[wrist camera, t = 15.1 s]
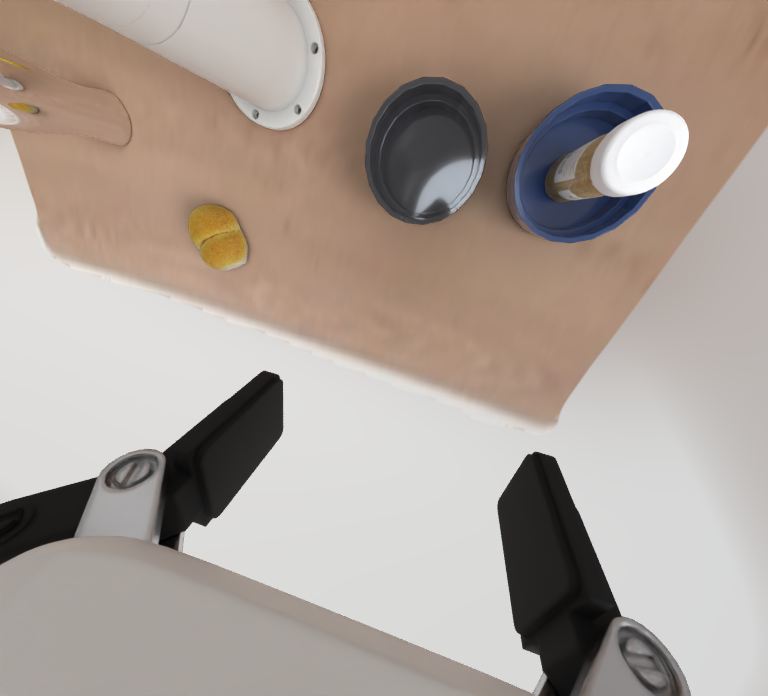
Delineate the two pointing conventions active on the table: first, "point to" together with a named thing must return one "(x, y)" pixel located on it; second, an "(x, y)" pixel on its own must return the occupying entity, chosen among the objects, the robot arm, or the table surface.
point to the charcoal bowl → (426, 150)
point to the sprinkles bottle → (621, 159)
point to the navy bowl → (562, 136)
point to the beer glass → (57, 104)
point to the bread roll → (218, 237)
